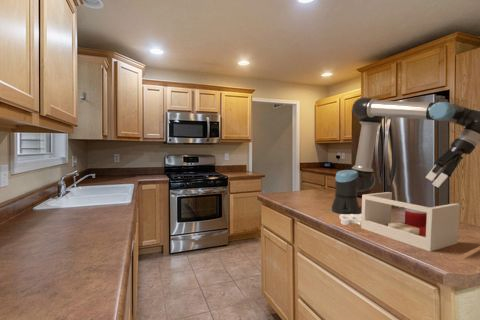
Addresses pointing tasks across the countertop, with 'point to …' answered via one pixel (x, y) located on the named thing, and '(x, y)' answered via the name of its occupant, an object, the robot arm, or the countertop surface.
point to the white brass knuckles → (350, 218)
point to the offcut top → (404, 227)
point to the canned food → (416, 220)
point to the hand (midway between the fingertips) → (431, 182)
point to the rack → (437, 232)
